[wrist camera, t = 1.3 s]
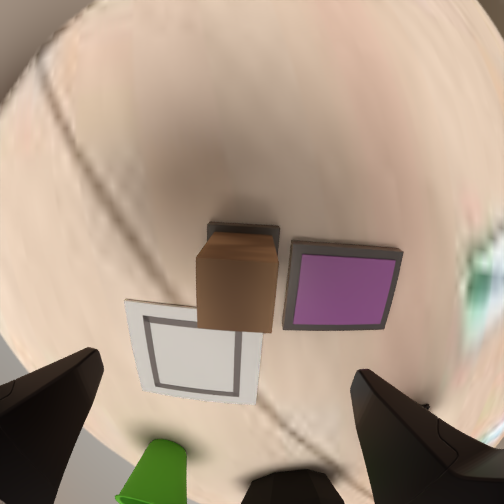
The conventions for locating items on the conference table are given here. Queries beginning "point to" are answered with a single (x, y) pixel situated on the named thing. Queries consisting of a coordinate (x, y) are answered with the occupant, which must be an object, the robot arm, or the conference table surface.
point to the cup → (157, 476)
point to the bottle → (293, 489)
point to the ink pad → (339, 286)
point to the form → (192, 355)
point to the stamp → (237, 277)
